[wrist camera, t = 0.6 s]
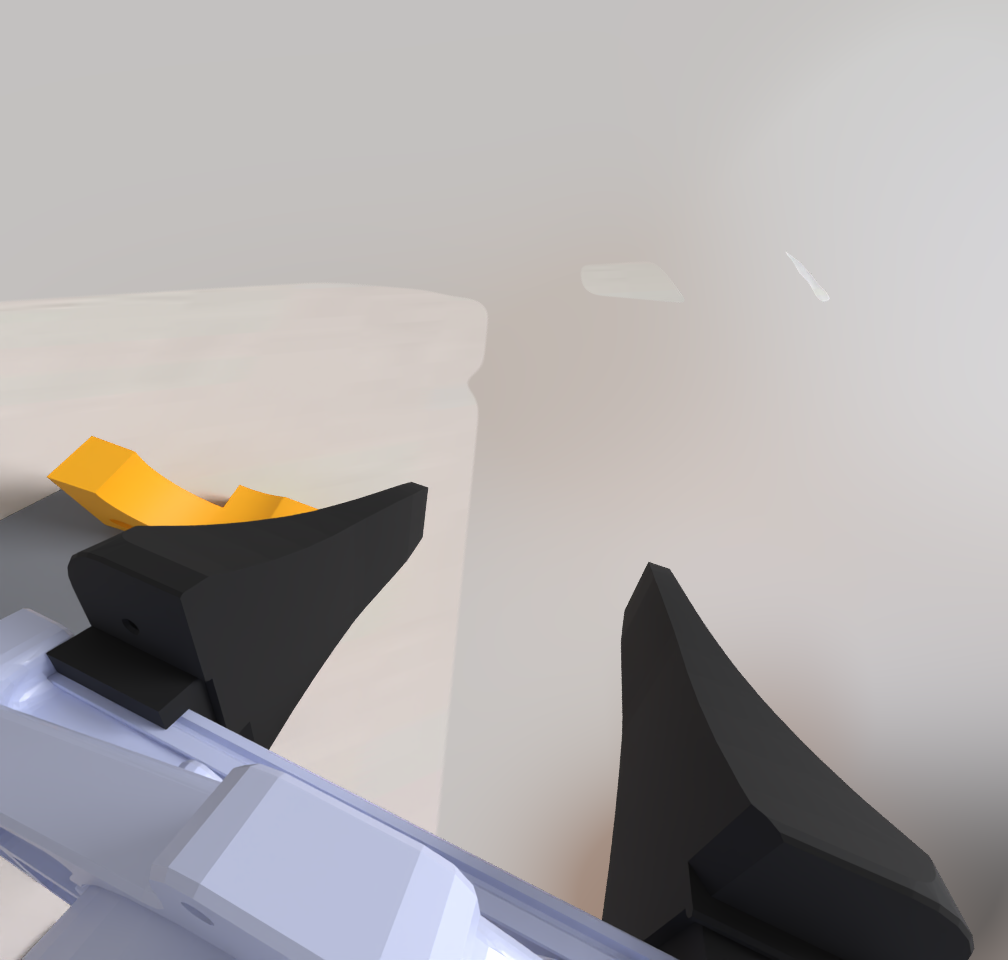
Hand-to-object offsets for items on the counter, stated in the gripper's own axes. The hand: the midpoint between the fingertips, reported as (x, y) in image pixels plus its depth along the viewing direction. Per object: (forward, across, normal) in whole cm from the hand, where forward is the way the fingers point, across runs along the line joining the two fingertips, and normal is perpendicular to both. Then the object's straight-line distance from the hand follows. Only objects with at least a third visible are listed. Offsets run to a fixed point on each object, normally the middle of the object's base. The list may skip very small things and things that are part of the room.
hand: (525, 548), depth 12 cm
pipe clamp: (+6, +20, +11) cm, 24 cm away
